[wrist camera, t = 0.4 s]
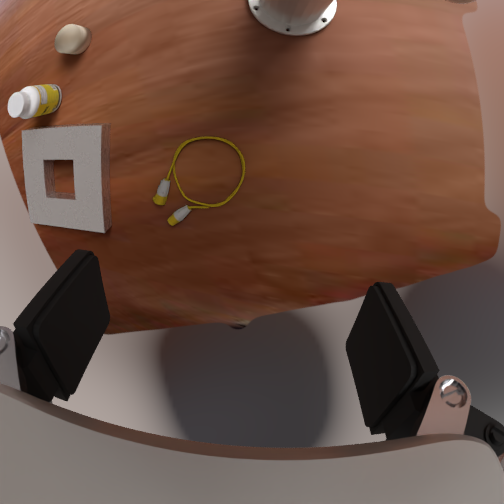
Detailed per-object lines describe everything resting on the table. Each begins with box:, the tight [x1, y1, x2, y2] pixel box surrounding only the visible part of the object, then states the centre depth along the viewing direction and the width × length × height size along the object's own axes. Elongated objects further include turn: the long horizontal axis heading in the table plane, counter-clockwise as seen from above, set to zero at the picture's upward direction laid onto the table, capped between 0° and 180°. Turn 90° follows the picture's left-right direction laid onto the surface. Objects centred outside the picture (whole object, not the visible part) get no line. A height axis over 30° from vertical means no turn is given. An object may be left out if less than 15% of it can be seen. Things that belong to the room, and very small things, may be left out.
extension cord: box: [153, 136, 245, 226], centre depth 43 cm, size 12×16×2 cm
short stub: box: [55, 24, 92, 54], centre depth 29 cm, size 5×5×4 cm
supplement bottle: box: [8, 84, 62, 119], centre depth 31 cm, size 5×5×10 cm
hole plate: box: [22, 123, 112, 233], centre depth 41 cm, size 18×18×3 cm
